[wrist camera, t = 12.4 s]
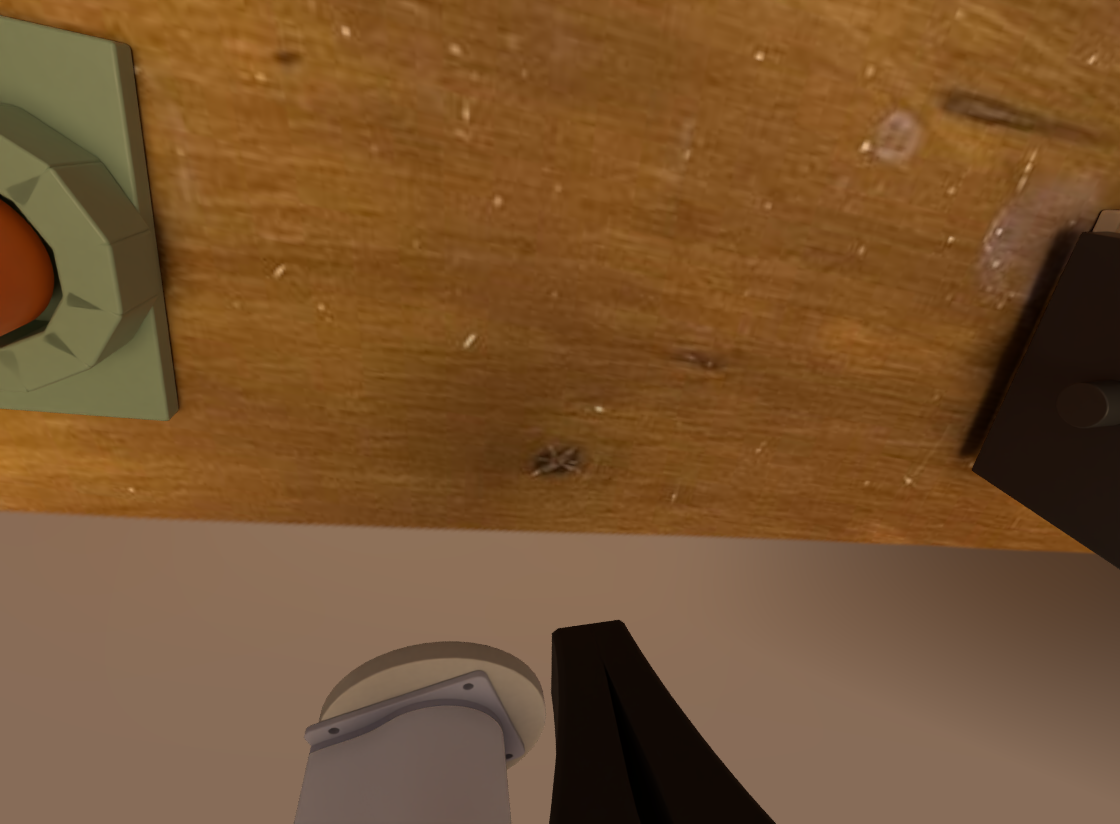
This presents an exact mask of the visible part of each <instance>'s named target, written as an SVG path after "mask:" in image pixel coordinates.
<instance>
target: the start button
mask: <svg viewBox="0 0 1120 824" xmlns="http://www.w3.org/2000/svg"><path fill="white" fill-rule="evenodd" d="M53 289H54V272H53V266H52V263H51V260H50V257H49V255H48V252H47V250H46V248H45V246H44V244H43V243H42V241H41V239H40V238H39V236H38V235H37V234H36V232H35V231H34V230H33V228H32V227H31V226H30V225H29V224H28V223H27V222H26V220H25V219H24V218H23V217H22V216H21V215H19V214H18V213H17V212H16V211H15V210H14V209H13V208H12V207H10V206H9V205H8V204H6V203H5V202H4V201H2V200H1V199H0V336H2V335H5V334H7V333H9V332H11V331H13V330H15V329H17V328H19V327H21V326H23V325H25V324H27V323H30V322H31V321H33V320H34V319H36V318H37V317H38V316H39V315H40V314H41V313H42V312H43V311H44V310H45V309H46V307H47V306H48V304H49V302H50V300H51V297H52V294H53Z"/></svg>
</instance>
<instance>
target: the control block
mask: <svg viewBox="0 0 1120 824" xmlns="http://www.w3.org/2000/svg"><path fill="white" fill-rule="evenodd" d="M0 199H1V200H2V201H4V202H5V203H6V204H8V205H9V206H10V207H12V208H13V209H14V210H15V211H16V212H17V213H18V214H19V215H21V216H22V217H23V218H24V219H25V220H26V222H27V223H28V224H29V225H30V226H31V227H32V228H33V230H34V231H35V232H36V234H37V235H38V236H39V238H40V239H41V241H42V243H43V244H44V246H45V248H46V250H47V252H48V255H49V257H50V260H51V263H52V266H53V272H54V289H53V294H52V297H51V300H50V302H49V304H48V306H47V307H46V309H45V310H44V311H43V312H42V313H41V314H40V315H39V316H38V317H37V318H36V319H34V320H33V321H31V322H30V323H27V324H25V325H23V326H21V327H19V328H17V329H15V330H13V331H11V332H9V333H7V334H5V335H2V336H0V408H1V409H14V410H27V411H41V412H54V413H67V414H81V415H94V416H107V417H121V418H134V419H147V420H161V421H168V420H170V419H171V418H172V417H173V415H174V414H175V413H176V412H177V411H178V409H179V408H178V400H177V393H176V385H175V378H174V370H173V363H172V356H171V348H170V341H169V333H168V326H167V318H166V311H165V303H164V296H163V288H162V281H161V273H160V266H159V258H158V251H157V243H156V236H155V228H154V221H153V213H152V206H151V198H150V191H149V183H148V176H147V168H146V161H145V153H144V146H143V138H142V131H141V123H140V116H139V109H138V101H137V94H136V86H135V79H134V71H133V64H132V56H131V49H130V47H129V46H128V45H126V44H124V43H120V42H116V41H112V40H107V39H103V38H98V37H94V36H90V35H85V34H81V33H76V32H72V31H68V30H63V29H59V28H54V27H50V26H45V25H41V24H37V23H32V22H28V21H23V20H19V19H14V18H10V17H6V16H1V15H0Z"/></svg>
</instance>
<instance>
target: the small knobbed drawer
mask: <svg viewBox="0 0 1120 824" xmlns="http://www.w3.org/2000/svg"><path fill="white" fill-rule="evenodd" d="M972 471H973V472H975V473H976V474H978V475H979V476H981V477H982V478H984V479H985V480H987V481H988V482H990V483H991V484H993V485H994V486H996V487H997V488H999V489H1000V490H1002V491H1003V492H1005V493H1006V494H1008V495H1009V496H1011V497H1012V498H1014V499H1015V500H1017V501H1018V502H1020V503H1021V504H1023V505H1024V506H1026V507H1027V508H1029V509H1030V510H1032V511H1033V512H1035V513H1036V514H1038V515H1039V516H1041V517H1042V518H1044V519H1045V520H1047V521H1048V522H1050V523H1051V524H1053V525H1054V526H1056V527H1057V528H1059V529H1060V530H1062V531H1063V532H1065V533H1066V534H1068V535H1069V536H1071V537H1072V538H1074V539H1075V540H1077V541H1078V542H1080V543H1081V544H1083V545H1084V546H1086V547H1087V548H1089V549H1090V550H1092V551H1093V552H1095V553H1096V554H1098V555H1099V556H1101V557H1102V558H1104V559H1105V560H1107V561H1108V562H1110V563H1111V564H1113V565H1114V566H1116V567H1117V568H1119V569H1120V233H1115V232H1109V231H1106V232H1083V233H1082V234H1081V235H1080V237H1079V240H1078V242H1077V244H1076V246H1075V248H1074V250H1073V253H1072V255H1071V257H1070V259H1069V261H1068V263H1067V265H1066V268H1065V270H1064V272H1063V274H1062V276H1061V278H1060V281H1059V283H1058V285H1057V287H1056V289H1055V291H1054V293H1053V296H1052V298H1051V300H1050V302H1049V304H1048V306H1047V308H1046V311H1045V313H1044V315H1043V317H1042V319H1041V321H1040V324H1039V326H1038V328H1037V330H1036V332H1035V334H1034V336H1033V339H1032V341H1031V343H1030V345H1029V347H1028V349H1027V351H1026V354H1025V356H1024V358H1023V360H1022V362H1021V364H1020V367H1019V369H1018V371H1017V373H1016V375H1015V377H1014V379H1013V382H1012V384H1011V386H1010V388H1009V390H1008V392H1007V395H1006V397H1005V399H1004V401H1003V403H1002V405H1001V407H1000V410H999V412H998V414H997V416H996V418H995V420H994V422H993V425H992V427H991V429H990V431H989V433H988V435H987V438H986V440H985V442H984V444H983V446H982V448H981V450H980V453H979V455H978V457H977V459H976V461H975V463H974V465H973V468H972Z"/></svg>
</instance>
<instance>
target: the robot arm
mask: <svg viewBox="0 0 1120 824" xmlns="http://www.w3.org/2000/svg"><path fill="white" fill-rule="evenodd" d="M551 679H552V680H551V694H552V702H553V711H554V722H555V737H556V763H555V764H556V765H555V773H554V783H553V793H552V804H551V813H550V821H549V824H776V823H775V822H774V821H773V820H772V819H771V818H770V817H769V815H768V814H767V813H766V812H765V811H764V810H763V809H762V808H761V807H760V805H759V804H758V803H757V802H756V801H755V800H754V799H753V798H752V796H751V795H749V793H748V792H747V791H746V790H745V788H744V787H743V786H742V785H741V784H740V783H739V782H738V780H737V779H736V778H735V777H734V775H733V774H732V773H731V772H730V771H729V769H728V768H727V767H726V766H725V765H724V763H723V762H722V761H721V760H720V758H719V757H718V756H717V755H716V754H715V753H714V751H713V750H712V749H711V747H710V746H709V745H708V744H707V742H706V741H705V740H704V738H703V737H702V736H701V735H700V733H699V732H698V731H697V729H696V728H695V727H694V725H693V724H692V723H691V721H690V720H689V719H688V717H687V716H686V715H685V714H684V712H683V711H682V709H681V708H680V707H679V705H678V704H677V703H676V701H675V700H674V699H673V698H672V696H671V695H670V693H669V692H668V690H667V689H666V688H665V686H664V685H663V683H662V682H661V680H660V679H659V677H658V676H657V674H656V673H655V671H654V670H653V669H652V667H651V666H650V664H649V663H648V661H647V660H646V658H645V657H644V655H643V654H642V652H641V650H640V649H639V647H638V646H637V644H636V642H635V641H634V639H633V637H632V636H631V634H630V632H629V631H628V629H627V627H626V626H625V624H624V623H623V622H621V621H620V620H614V621H607V622H601V623H593V624H587V625H579V626H572V627H565V628H558V629H557V630H556V631H554V632H553V633H552V678H551ZM304 738H305V740H306V741H307V742H308V743H309V744H310V745H311V748H310V753H309V757H308V762H307V767H306V771H305V775H304V780H303V785H302V789H301V794H300V798H299V803H298V808H297V812H296V816H295V821H294V824H511V815H510V804H509V792H508V781H507V770H506V762H507V761H510V760H513V759H516V758H519V757H521V756H522V755H523V754H524V753H525V747H524V743H523V742H522V740H521V738H520V736H519V734H518V732H517V730H516V728H515V726H514V725H513V723H512V721H511V719H510V717H509V715H508V713H507V711H506V709H505V708H504V706H503V704H502V702H501V700H500V698H499V696H498V694H497V692H496V691H495V689H494V687H493V685H492V683H491V681H490V679H489V677H488V676H487V674H486V673H485V672H483V671H474V672H471V673H468V674H465V675H462V676H459V677H455V678H452V679H449V680H446V681H443V682H440V683H437V684H434V685H431V686H428V687H425V688H422V689H419V690H416V691H413V692H410V693H407V694H404V695H401V696H398V697H395V698H392V699H389V700H386V701H383V702H380V703H376V704H373V705H370V706H367V707H364V708H361V709H358V710H355V711H352V712H349V713H346V714H343V715H340V716H337V717H334V718H331V719H328V720H325V721H322V722H319V723H316V724H313V725H310V726H309V727H307V728H306V731H305V735H304Z"/></svg>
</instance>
